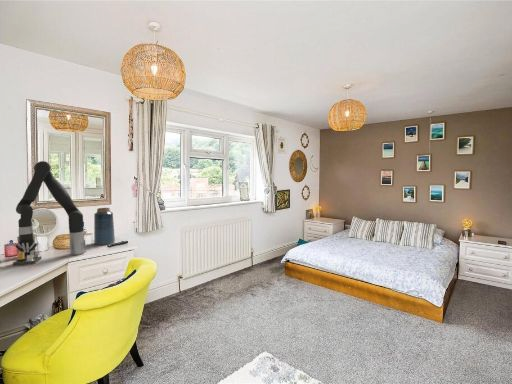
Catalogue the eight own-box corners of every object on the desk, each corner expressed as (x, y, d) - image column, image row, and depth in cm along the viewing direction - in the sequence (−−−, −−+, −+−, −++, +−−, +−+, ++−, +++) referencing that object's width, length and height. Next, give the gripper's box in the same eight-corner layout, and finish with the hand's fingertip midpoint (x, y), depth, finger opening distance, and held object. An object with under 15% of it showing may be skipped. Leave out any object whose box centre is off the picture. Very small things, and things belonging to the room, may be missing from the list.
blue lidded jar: (97, 241, 245) (96, 207, 243) (117, 240, 249) (116, 207, 247) (91, 246, 229) (89, 209, 227) (112, 244, 233) (110, 209, 231)
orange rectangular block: (26, 258, 187) (26, 251, 187) (23, 259, 184) (23, 252, 183) (18, 258, 186) (18, 251, 185) (15, 260, 182) (15, 253, 182)
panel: (42, 258, 193) (41, 250, 193) (33, 264, 182) (33, 255, 181) (22, 260, 190) (21, 251, 190) (12, 265, 178) (11, 256, 178)
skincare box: (25, 258, 195) (23, 237, 194) (17, 257, 196) (16, 236, 195) (36, 254, 203) (35, 234, 202) (29, 254, 205) (28, 234, 204)
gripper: (39, 231, 190) (41, 254, 191) (17, 232, 186) (19, 256, 187) (34, 233, 183) (36, 257, 184) (11, 234, 179) (13, 259, 180)
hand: (27, 257), depth 186 cm, fingers closed
